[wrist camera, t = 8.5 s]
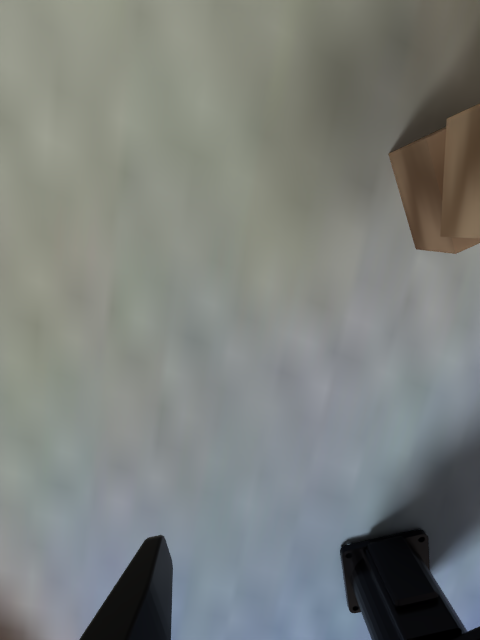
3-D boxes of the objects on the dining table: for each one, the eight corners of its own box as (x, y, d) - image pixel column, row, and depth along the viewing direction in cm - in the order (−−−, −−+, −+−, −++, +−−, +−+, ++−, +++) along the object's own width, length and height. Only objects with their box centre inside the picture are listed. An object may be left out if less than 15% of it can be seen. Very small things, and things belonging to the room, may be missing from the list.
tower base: (503, 208, 19) (564, 204, 16) (414, 249, 20) (455, 253, 16) (483, 109, 18) (545, 81, 14) (386, 154, 18) (425, 138, 15)
